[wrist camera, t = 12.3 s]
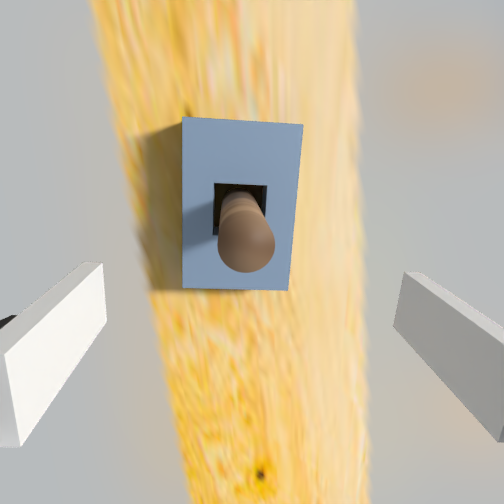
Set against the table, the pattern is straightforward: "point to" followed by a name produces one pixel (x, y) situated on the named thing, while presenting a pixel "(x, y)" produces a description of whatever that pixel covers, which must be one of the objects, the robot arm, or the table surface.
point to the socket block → (237, 172)
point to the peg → (244, 233)
